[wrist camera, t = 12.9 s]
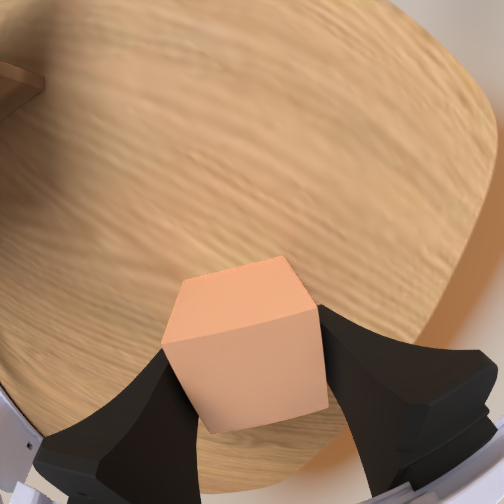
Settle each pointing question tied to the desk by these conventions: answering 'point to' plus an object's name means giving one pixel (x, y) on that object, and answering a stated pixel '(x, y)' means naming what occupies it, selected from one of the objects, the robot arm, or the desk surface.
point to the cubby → (17, 87)
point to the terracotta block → (247, 346)
